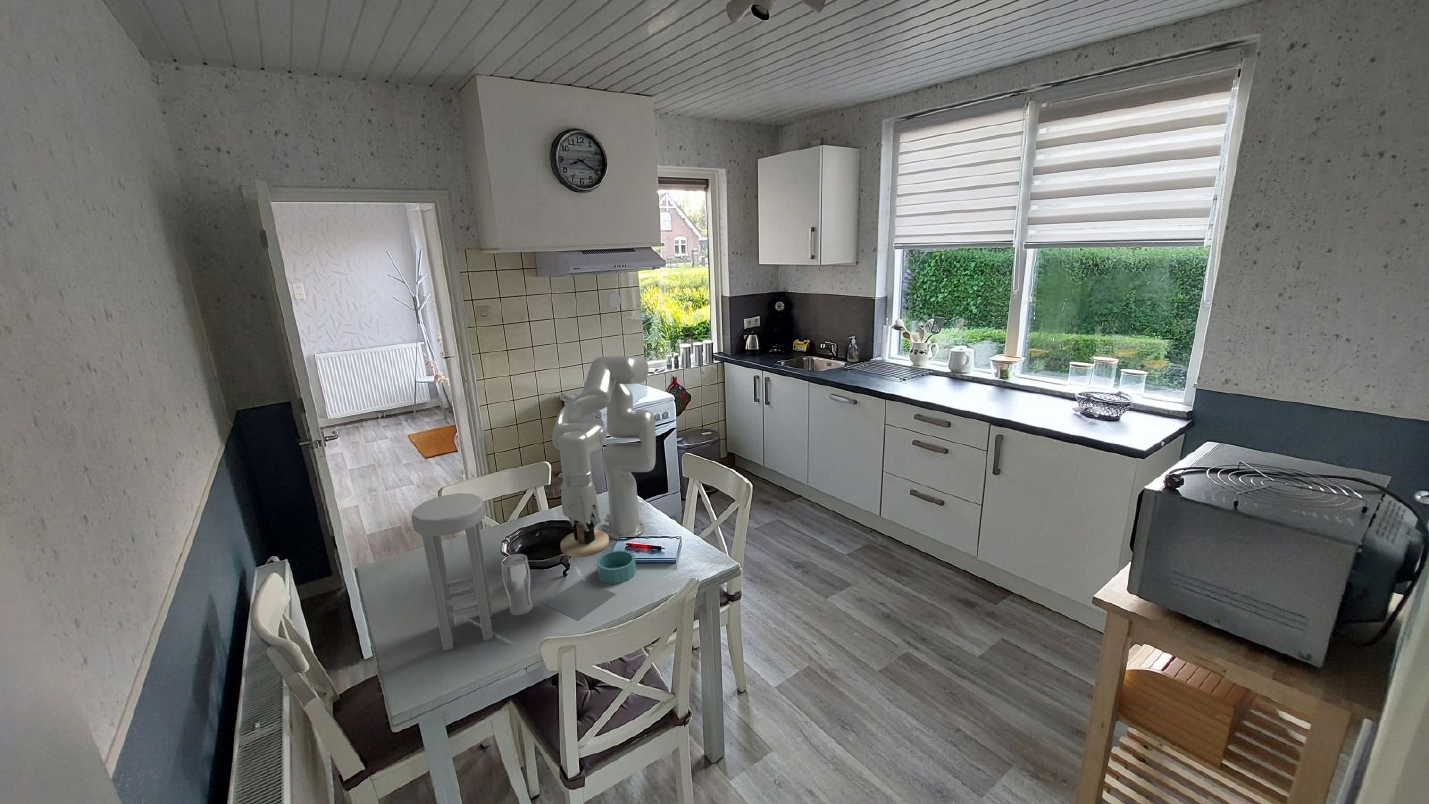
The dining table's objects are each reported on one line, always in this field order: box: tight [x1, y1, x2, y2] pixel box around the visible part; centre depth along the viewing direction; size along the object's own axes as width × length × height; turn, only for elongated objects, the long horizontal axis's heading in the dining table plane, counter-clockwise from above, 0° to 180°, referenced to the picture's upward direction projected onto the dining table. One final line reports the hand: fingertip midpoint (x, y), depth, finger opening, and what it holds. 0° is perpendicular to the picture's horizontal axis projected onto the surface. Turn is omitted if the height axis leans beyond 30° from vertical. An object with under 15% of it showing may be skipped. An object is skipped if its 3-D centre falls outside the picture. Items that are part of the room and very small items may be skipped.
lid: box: [559, 521, 610, 558], centre depth 158 cm, size 13×13×6 cm
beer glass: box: [500, 553, 534, 616], centre depth 155 cm, size 7×7×15 cm
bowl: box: [596, 549, 637, 585], centre depth 171 cm, size 11×11×5 cm
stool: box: [411, 492, 494, 651], centre depth 144 cm, size 16×16×35 cm
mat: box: [542, 579, 617, 622], centre depth 160 cm, size 14×14×1 cm
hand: (584, 539), depth 159 cm, fingers closed on lid, 3 cm apart
